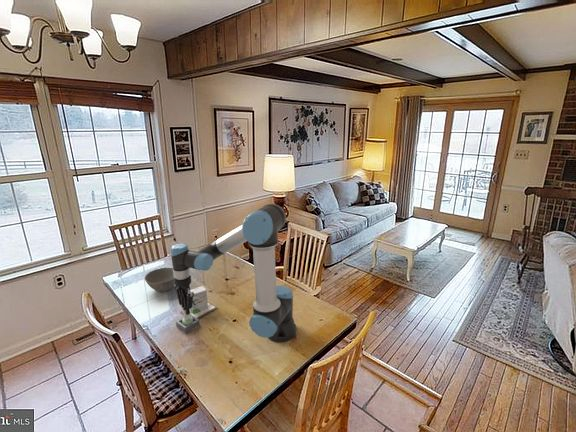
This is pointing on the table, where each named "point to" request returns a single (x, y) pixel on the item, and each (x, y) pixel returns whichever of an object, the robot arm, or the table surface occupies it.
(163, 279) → the bowl
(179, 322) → the button housing
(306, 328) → the table surface
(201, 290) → the ink box
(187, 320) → the button
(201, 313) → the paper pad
